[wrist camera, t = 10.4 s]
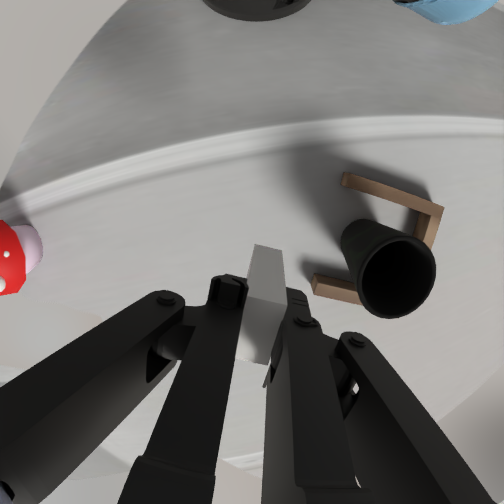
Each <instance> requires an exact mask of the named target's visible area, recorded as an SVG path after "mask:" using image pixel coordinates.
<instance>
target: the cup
mask: <svg viewBox="0 0 504 504" xmlns="http://www.w3.org/2000/svg"><path fill="white" fill-rule="evenodd" d="M340 243H341V249H342V252H343V255H344V257H345V260H346V263H347V265H348V268H349V271H350V273H351V276H352V279H353V282H354V285H355V287H356V290H357V293H358V296H359V299H360V301H361V303H362V304H363V306H364V307H365V309H366V310H368V311H369V312H370V313H371V314H373V315H375V316H377V317H380V318H386V319H393V318H399V317H402V316H405V315H408V314H409V313H411V312H413V311H414V310H416V309H417V308H418V307H419V306H420V305H421V304H423V302H424V301H425V300H426V298H427V297H428V296H429V294H430V292H431V290H432V288H433V285H434V282H435V278H436V264H435V259H434V256H433V254H432V252H431V250H430V248H429V247H428V246H427V245H426V244H425V243H424V242H423V241H421V240H419V239H418V238H416V237H413V236H411V235H408V234H406V233H403V232H401V231H398V230H395V229H393V228H390V227H388V226H385V225H382V224H380V223H377V222H374V221H372V220H368V219H359V220H356V221H354V222H352V223H350V224H349V225H348V226H347V227H346V228H345V230H344V231H343V234H342V236H341V242H340Z"/></svg>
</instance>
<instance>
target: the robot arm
mask: <svg viewBox="0 0 504 504" xmlns="http://www.w3.org/2000/svg"><path fill="white" fill-rule="evenodd" d="M203 1H204V2H205V3H206V4H207V5H208V6H209V7H210V8H211V9H213V10H214V11H216V12H218V13H220V14H222V15H224V16H227V17H230V18H233V19H237V20H243V21H269V20H275V19H280V18H283V17H286V16H289V15H291V14H293V13H295V12H297V11H299V10H301V9H302V8H303V7H305V6H306V5H307V4H308V3H309V2H310V1H311V0H203ZM393 1H394V2H395V3H396V4H398V5H400V6H403V7H407V8H409V9H411V10H413V11H414V12H416V13H418V14H420V15H421V16H423V17H425V18H426V19H428V20H430V21H432V22H434V23H437V24H442V25H451V24H459V23H463V22H465V21H468V20H471V19H473V18H475V17H477V16H478V15H480V14H482V13H483V12H485V11H486V10H488V9H489V8H490V7H491V6H493V5H494V4H495V3H496V2H497V1H498V0H393ZM270 357H271V364H270V367H269V370H268V372H267V375H266V378H265V381H264V384H263V388H265V387H266V385H267V394H266V418H265V440H264V460H263V479H262V497H261V504H497V503H495V502H494V501H493V500H492V499H491V497H490V496H489V494H488V493H487V491H486V490H485V489H484V487H483V486H482V484H481V483H480V481H479V480H478V479H477V477H476V476H475V475H474V473H473V472H472V470H471V469H470V468H469V466H468V465H467V464H466V462H465V461H464V459H463V458H462V457H461V455H460V454H459V453H458V451H457V450H456V449H455V447H454V446H453V445H452V443H451V442H450V441H449V440H448V438H447V437H446V435H445V434H444V433H443V431H442V430H441V429H440V427H439V426H438V425H437V424H436V422H435V421H434V420H433V418H432V417H431V416H430V414H429V413H428V412H427V410H426V409H425V408H424V407H423V405H422V404H421V403H420V401H419V400H418V399H417V398H416V396H415V395H414V394H413V393H412V391H411V390H410V389H409V387H408V386H407V385H406V384H405V382H404V381H403V380H402V379H401V377H400V376H399V375H398V374H397V372H396V371H395V370H394V369H393V367H392V366H391V365H390V364H389V362H388V361H387V360H386V359H385V357H384V356H383V355H382V354H381V353H380V351H379V350H378V349H377V348H376V346H375V345H374V344H373V343H372V342H371V341H370V340H369V339H368V338H367V337H365V336H363V335H362V334H360V333H357V332H344V333H342V334H341V336H340V338H339V340H338V339H335V338H332V337H330V336H327V335H325V334H323V333H322V329H321V325H320V323H319V322H318V321H317V320H316V319H315V318H313V317H311V313H310V309H309V304H308V300H307V296H306V295H305V294H304V293H303V292H302V291H301V290H297V289H292V288H288V287H286V285H285V275H284V266H283V257H282V250H278V249H273V248H269V247H265V246H261V245H257V244H255V246H254V250H253V254H252V258H251V262H250V266H249V270H248V274H247V278H242V277H238V276H234V275H230V274H225V275H219V276H215V277H213V278H212V279H211V284H210V290H209V295H208V300H207V302H206V304H205V305H203V306H185V299H184V298H183V297H182V296H180V295H179V294H177V293H174V292H172V291H168V290H167V291H166V290H160V291H154V292H151V293H149V294H148V295H146V296H145V297H143V298H141V299H140V300H138V301H136V302H135V303H133V304H132V305H130V306H128V307H127V308H125V309H123V310H122V311H120V312H119V313H117V314H115V315H114V316H112V317H110V318H109V319H107V320H106V321H104V322H102V323H101V324H99V325H98V326H96V327H94V328H93V329H91V330H90V331H88V332H86V333H85V334H83V335H82V336H80V337H78V338H77V339H75V340H74V341H72V342H70V343H69V344H67V345H66V346H64V347H63V348H61V349H59V350H58V351H56V352H55V353H53V354H51V355H50V356H48V357H47V358H45V359H44V360H42V361H41V362H39V363H37V364H36V365H34V366H33V367H31V368H30V369H28V370H26V371H25V372H23V373H22V374H20V375H19V376H17V377H16V378H14V379H13V380H11V381H9V382H8V383H6V384H5V385H3V386H2V387H0V504H39V503H40V502H41V501H42V500H43V499H45V498H46V497H47V496H48V495H49V494H51V493H52V492H53V491H54V490H55V489H56V488H57V487H58V486H59V485H60V484H61V483H62V482H63V481H64V480H65V479H66V478H67V477H68V476H69V475H70V474H71V473H72V472H73V471H74V470H75V469H76V468H77V467H78V466H79V465H80V464H81V463H82V462H83V461H84V460H85V459H86V458H87V457H88V456H89V455H90V454H91V453H92V452H93V451H94V450H95V449H96V448H97V447H98V446H99V445H100V444H101V443H102V441H103V440H104V439H105V438H106V437H107V436H108V435H109V434H110V433H111V432H112V431H113V430H114V429H115V428H116V427H117V426H118V425H119V424H120V423H121V422H122V421H123V420H124V419H125V418H126V417H127V416H128V415H129V414H130V413H131V412H132V411H133V410H134V408H135V407H136V406H137V405H138V404H139V403H140V402H141V401H142V400H143V399H144V398H145V397H146V396H147V395H148V394H149V393H150V392H151V391H152V390H153V389H154V388H155V386H156V385H157V384H158V383H159V382H160V381H161V380H162V379H163V378H164V377H165V376H166V375H167V374H168V373H169V372H170V371H171V370H172V368H173V367H174V366H175V365H176V363H177V360H182V361H181V364H180V366H179V369H178V371H177V373H176V376H175V378H174V381H173V383H172V385H171V388H170V390H169V393H168V395H167V398H166V400H165V403H164V405H163V408H162V410H161V413H160V415H159V417H158V420H157V422H156V425H155V427H154V430H153V432H152V435H151V438H150V440H149V443H148V445H147V448H146V450H145V452H144V454H143V455H142V456H138V457H137V458H136V460H135V462H134V464H133V466H132V468H131V470H130V473H129V475H128V478H127V480H126V483H125V485H124V488H123V490H122V493H121V495H120V498H119V500H118V503H117V504H212V498H213V493H214V486H215V477H216V476H215V468H216V462H217V457H218V451H219V446H220V440H221V435H222V429H223V423H224V418H225V412H226V406H227V401H228V395H229V390H230V384H231V378H232V373H233V367H234V361H235V358H236V359H240V360H245V361H249V362H254V363H259V364H263V365H268V363H269V360H270ZM356 383H357V384H358V387H359V390H358V392H357V394H355V393H354V391H353V387H354V386H355V384H356ZM355 476H356V478H357V480H358V482H359V484H360V486H361V488H360V487H359V486H358V485H357V482H356V479H355Z"/></svg>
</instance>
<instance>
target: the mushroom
mask: <svg viewBox="0 0 504 504" xmlns="http://www.w3.org/2000/svg"><path fill="white" fill-rule="evenodd" d="M42 256H43V246H42V241H41V238H40V236H39V234H38V232H37V231H36V230H35V229H34V228H33V227H31V226H29V225H19V226H11V227H10V226H8V225H7V224H6V223H5V222H4V221H3V220H0V296H1V295H7V294H12V293H17V292H18V291H19V290H20V288H21V287H22V285H23V284H24V282H25V281H26V274H27V273H28V272H30V271H31V270H32V269H33V268H34V267H35V266H36V265H37V264H38V263H39V262H40V261H41V258H42Z"/></svg>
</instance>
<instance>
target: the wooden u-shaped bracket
mask: <svg viewBox="0 0 504 504" xmlns="http://www.w3.org/2000/svg"><path fill="white" fill-rule="evenodd" d="M341 185H343V186H345V187H348V188H352V189H355V190H358V191H361V192H364V193H368V194H371V195H374V196H377V197H380V198H383V199H386V200H389V201H392V202H395V203H398V204H400V205H403V206H406V207H409V208H412V209H415V210H417V211H420V214H419V217H418V220H417V224H416V227H415V230H414V233H413V237H416V238H418V239H419V240H421V241H423V242H424V243H425V244H426V245H427V246H428V247H429V248H430V250H431V248H432V245H433V242H434V239H435V236H436V233H437V230H438V227H439V224H440V221H441V217H442V214H443V210H444V207H443V206H440V205H438V204H435V203H433V202H430V201H428V200H425V199H422V198H420V197H417V196H415V195H412V194H409V193H406V192H404V191H401V190H398V189H395V188H393V187H390V186H387V185H384V184H381V183H378V182H375V181H372V180H369V179H366V178H363V177H360V176H357V175H354V174H351V173H345V172H344V173H343V177H342V181H341ZM311 287H312V290H313V294H314V295H317V296H322V297H326V298H331V299H335V300H340V301H344V302H349V303H353V304H358V305H362V306H363V304H362V303H361V301H360V299H359V296H358V293H357V290H356V287H355V285H354V283H352V282H348V281H344V280H340V279H336V278H331V277H327V276H323V275H319V274H315V273H314V276H313V279H312V282H311Z"/></svg>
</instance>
